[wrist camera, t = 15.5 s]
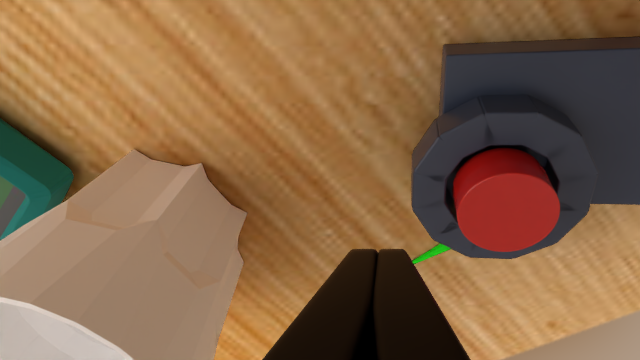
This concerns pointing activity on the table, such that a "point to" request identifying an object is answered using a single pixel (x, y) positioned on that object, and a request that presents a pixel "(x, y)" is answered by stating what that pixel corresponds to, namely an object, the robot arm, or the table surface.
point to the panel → (534, 127)
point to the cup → (123, 269)
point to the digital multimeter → (27, 180)
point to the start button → (504, 200)
